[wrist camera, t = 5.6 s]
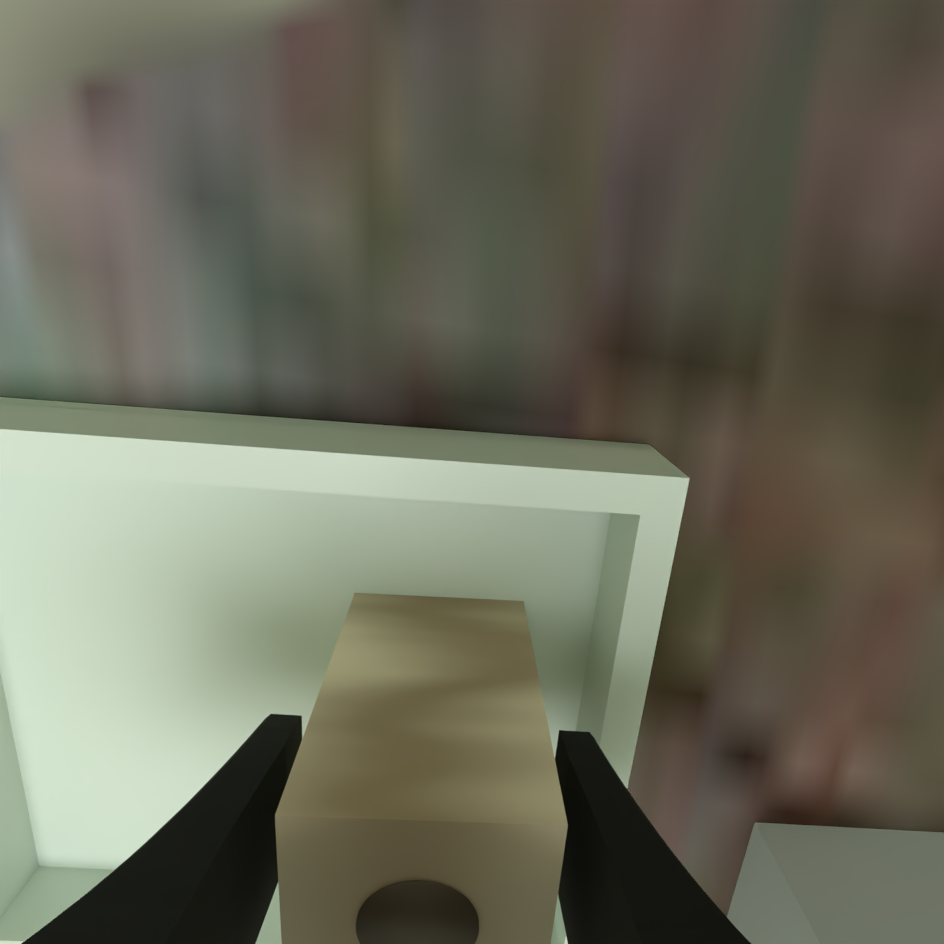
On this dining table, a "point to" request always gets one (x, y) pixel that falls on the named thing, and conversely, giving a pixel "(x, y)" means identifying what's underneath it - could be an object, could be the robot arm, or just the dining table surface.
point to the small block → (424, 783)
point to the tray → (277, 599)
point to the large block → (840, 886)
